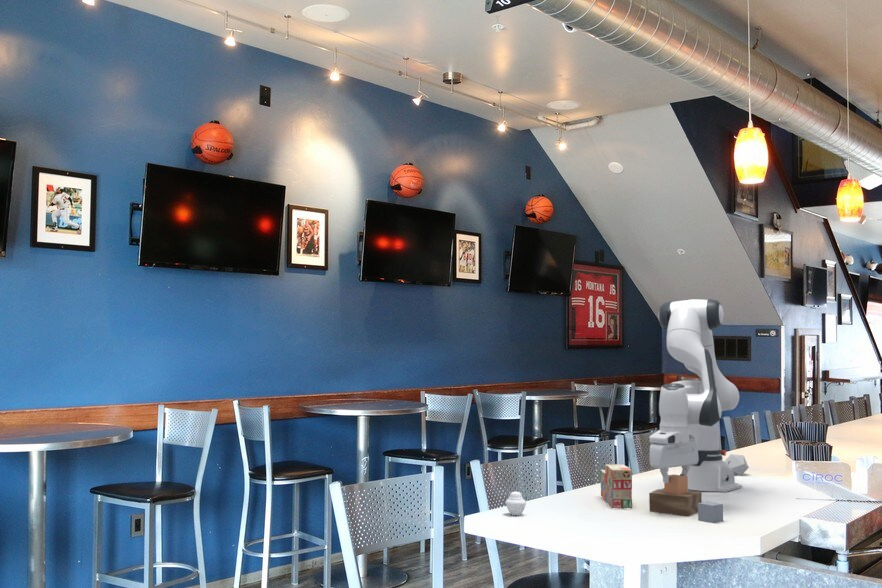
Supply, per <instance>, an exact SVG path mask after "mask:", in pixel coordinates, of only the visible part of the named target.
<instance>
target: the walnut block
mask: <svg viewBox="0 0 882 588" xmlns="http://www.w3.org/2000/svg"><path fill="white" fill-rule="evenodd" d="M656 490H657V489H656ZM653 491H654V492H652V491H651V492H649V494H648V499H649V500H648V501H649V505H648V506H649V513H657V514H665V515H673V516H679V517H687V518H688V517H691V516H693V515H695V514H698V503H702V502H703V501H702V499H703V498H702V491H698V490H688V493H683V494H673V493H667V492H664V487H662V488H661V489H660V490H657V491H655V490H653Z"/></svg>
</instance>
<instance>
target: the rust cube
mask: <svg viewBox="0 0 882 588" xmlns="http://www.w3.org/2000/svg"><path fill="white" fill-rule="evenodd" d="M668 475H669V477H671V479H670V480H671V482H669V483H664V482H663V484H664V486H663V488H664V492H667V493H673V494H683V493H688V491H689V489H688V476H681V475H680V474H675V473H674V474H668Z"/></svg>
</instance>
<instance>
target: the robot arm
mask: <svg viewBox="0 0 882 588" xmlns="http://www.w3.org/2000/svg"><path fill="white" fill-rule="evenodd" d="M657 314H658V315H657V316H658V317H657V318H658V321H659V324H660V327H661V328H663V330H665V331H666V349H667V352H668V354H669V355H670V356H671V357H672V358H673V359H674V360H676V361H678V362H680V363H681V364H683V365H684V367H685V368H686V369H687V370H688V371H690V372H692V373H694V374H696V375H697V376H698V377H699V379H700V380H689V379H687V380H678V381H673V382H671V383H665V384H663V385H662V386H661V387H660V388H661V389H660V393H659V401H658V415H659V417H660V422H659V429H658V430H657V431H655V432H654V433H652V434H651V435H649V436H648V437H649V439H648V440H649V443H651V444H650V446H649V464H650V466H651V468H653V469H658V470H659V472H660V474H661V476H662V482H663V484H664V483H669V482H671V480H670V479H671V477H669V475H670V474H669V473H668V472H669V469H671V468H678V467H681V473H680V474H679V475H681V476H688V490H690V491H697V492H723V493H727V492H730V491H734V490H737V489H741V488H743V485H742V484H741V483H736V480H735V478H736V477H735V475H734V472H733V470H732V469H731V468H730V467H729V466H728V465H727V464H726V463H725V462H724V461H725V460H723V459H724V458H723V457H726V455H727V450H725V449H720V431H719V428H718V426H717V425H716V424H717V423H718V422H720V420H721V417H722V412H724V411H731V410H734V409H735V408H736V407H737V406H738V404H739V402H740V392H739V389H738V387H737V386H736V385H735V384H734V383H733V382H731V381H730V380H728V379H727V378H726V377H725V376H724V374H723V373H722V372H721V370H720V369H719V367H718V364H717V359H716V353H715V343H714V336H713V331H714V330H716V329H718V328H720V326H722V324H723V320H724V316H725V315H724V314H725V313H724V309H723V306H722V303H720V301H719V300H716V299H713V298H709V299H699V298H697V299H695V298H694V299H692V298H691V299H687V300H685V299H684V300H677V301H676V300H675V301H666V302H663V303H662V304H661V305H660V306H659V310H658V313H657Z"/></svg>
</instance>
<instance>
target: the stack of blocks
mask: <svg viewBox="0 0 882 588" xmlns="http://www.w3.org/2000/svg"><path fill="white" fill-rule="evenodd" d="M604 466H605V467H604V469H599V472H600V473H599V479H600V497H601V496H602V497H601V498H602V500H604V501H605V502H606V503H607V504H608V506H610V507H612V508H619V509H620V508H630V509H632V508H633V499H632V498H633V495H632V494H633V470H632V469H630V467H629V466H626V465H625V464H605V465H604ZM612 508H611V509H612Z"/></svg>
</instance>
